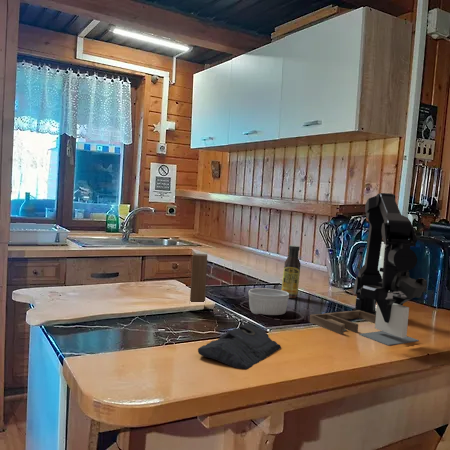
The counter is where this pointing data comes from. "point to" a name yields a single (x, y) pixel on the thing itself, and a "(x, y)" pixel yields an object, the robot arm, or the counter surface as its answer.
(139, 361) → the counter surface
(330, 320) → the offcut upper
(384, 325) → the board
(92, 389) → the counter surface
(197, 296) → the wooden block
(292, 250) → the sauce bottle
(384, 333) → the mat
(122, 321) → the counter surface
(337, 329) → the rack
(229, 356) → the folded dark cloth
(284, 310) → the ramekin
